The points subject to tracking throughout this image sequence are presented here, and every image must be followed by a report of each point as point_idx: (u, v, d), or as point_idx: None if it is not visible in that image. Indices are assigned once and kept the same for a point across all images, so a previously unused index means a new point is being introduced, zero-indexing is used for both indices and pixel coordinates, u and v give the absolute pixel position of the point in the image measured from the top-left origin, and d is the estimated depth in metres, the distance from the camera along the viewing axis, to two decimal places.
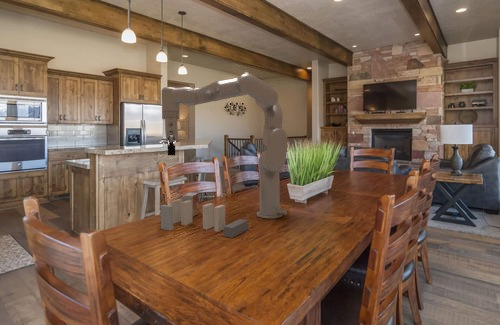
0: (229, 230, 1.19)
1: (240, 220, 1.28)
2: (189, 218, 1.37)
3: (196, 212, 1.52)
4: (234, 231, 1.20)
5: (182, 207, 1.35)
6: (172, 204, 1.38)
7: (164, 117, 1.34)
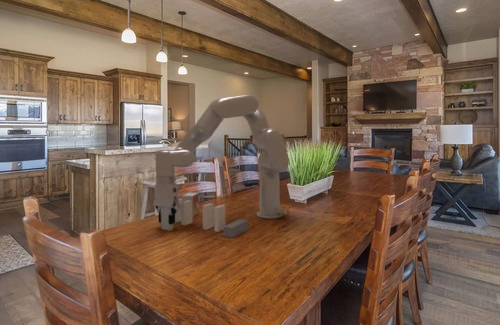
0: (229, 230, 1.19)
1: (240, 220, 1.28)
2: (189, 218, 1.37)
3: (196, 212, 1.52)
4: (234, 231, 1.20)
5: (182, 207, 1.35)
6: None
7: (165, 183, 1.24)
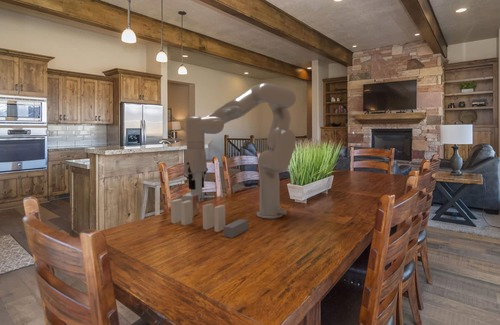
0: (229, 230, 1.19)
1: (240, 220, 1.28)
2: (189, 218, 1.37)
3: (196, 212, 1.52)
4: (234, 231, 1.20)
5: (182, 207, 1.35)
6: (172, 204, 1.38)
7: (204, 147, 1.32)
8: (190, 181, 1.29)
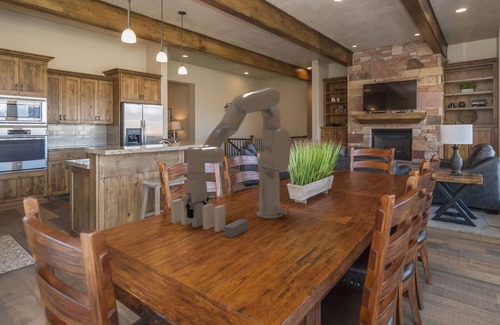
0: (229, 230, 1.19)
1: (240, 220, 1.28)
2: (189, 218, 1.37)
3: None
4: (234, 231, 1.20)
5: (182, 207, 1.35)
6: (172, 204, 1.38)
7: None
8: (188, 210, 1.29)
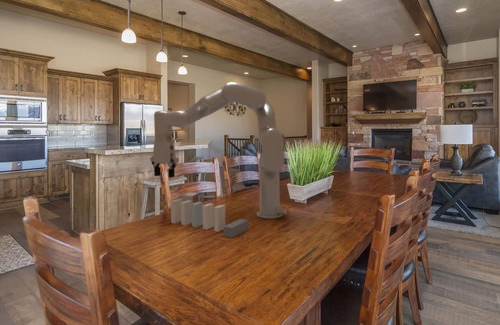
0: (229, 230, 1.19)
1: (240, 220, 1.28)
2: (189, 218, 1.37)
3: None
4: (234, 231, 1.20)
5: (182, 207, 1.35)
6: (172, 204, 1.38)
7: (163, 140, 1.37)
8: None
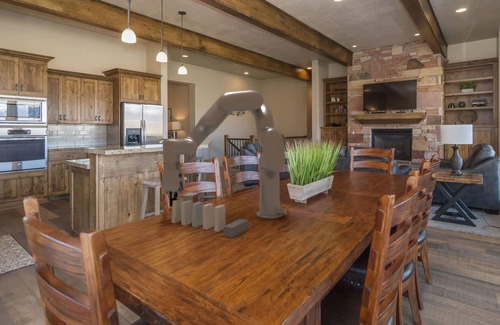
0: (229, 230, 1.19)
1: (240, 220, 1.28)
2: (189, 218, 1.37)
3: None
4: (234, 231, 1.20)
5: (182, 207, 1.35)
6: (174, 204, 1.37)
7: (171, 169, 1.36)
8: None
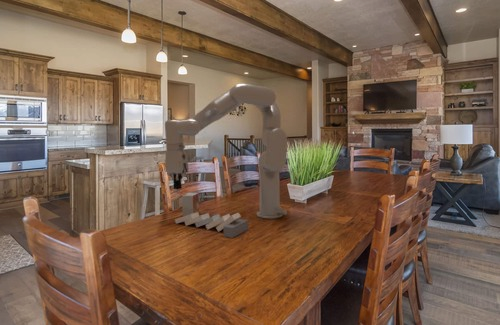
0: (229, 230, 1.19)
1: (240, 220, 1.28)
2: None
3: None
4: (234, 231, 1.20)
5: (198, 218, 1.31)
6: (188, 217, 1.33)
7: (175, 150, 1.34)
8: None
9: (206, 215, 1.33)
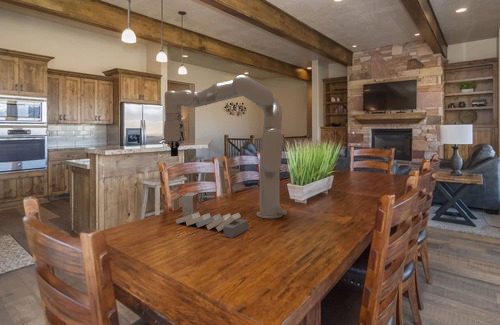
0: (229, 230, 1.19)
1: (240, 220, 1.28)
2: None
3: (196, 212, 1.52)
4: (234, 231, 1.20)
5: (199, 218, 1.31)
6: (189, 217, 1.33)
7: (173, 119, 1.43)
8: None
9: (207, 215, 1.32)
